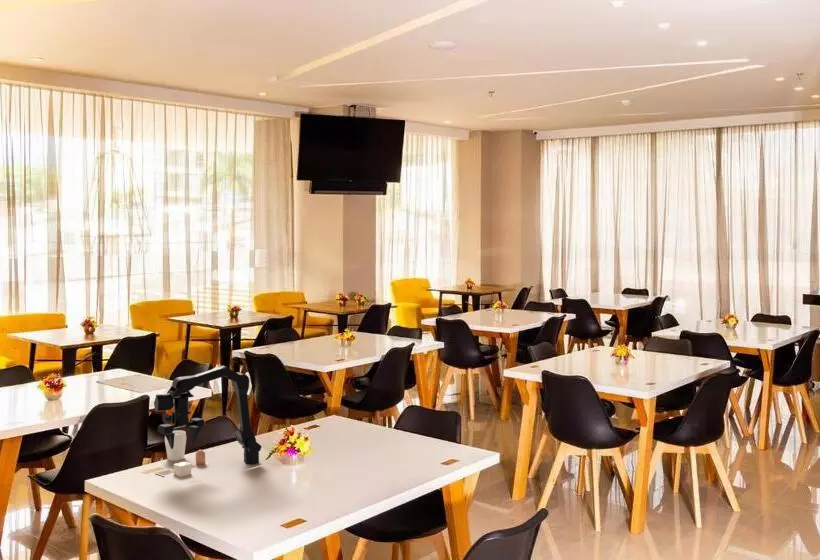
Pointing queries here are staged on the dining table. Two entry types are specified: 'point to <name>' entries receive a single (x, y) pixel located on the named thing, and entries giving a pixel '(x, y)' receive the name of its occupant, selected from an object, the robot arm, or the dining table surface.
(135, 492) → the dining table surface
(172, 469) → the track
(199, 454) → the pawn
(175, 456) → the cup
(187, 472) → the die
